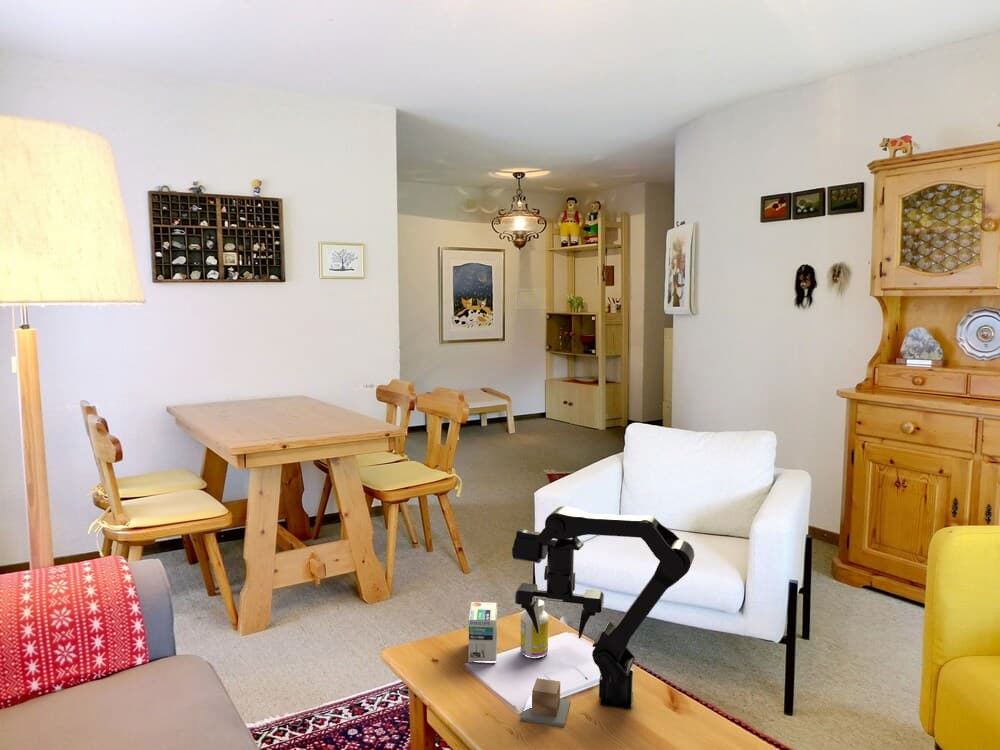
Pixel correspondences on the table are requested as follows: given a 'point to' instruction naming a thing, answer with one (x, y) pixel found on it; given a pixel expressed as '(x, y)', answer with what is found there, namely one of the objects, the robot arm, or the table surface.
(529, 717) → the rubber mat
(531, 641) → the supplement bottle
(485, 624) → the light bulb box
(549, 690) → the walnut cube
